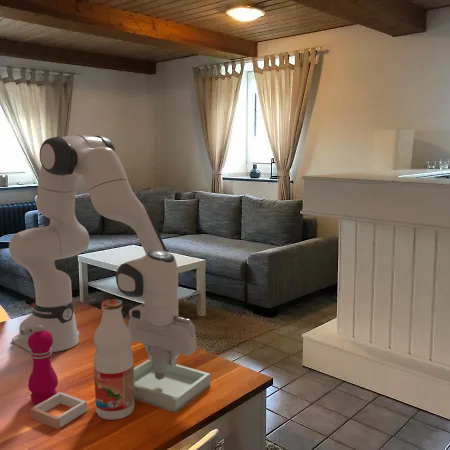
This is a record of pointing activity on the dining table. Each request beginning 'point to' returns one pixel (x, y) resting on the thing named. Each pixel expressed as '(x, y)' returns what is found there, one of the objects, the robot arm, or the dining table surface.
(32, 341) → the pepper mill
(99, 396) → the white plastic bottle
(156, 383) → the tray
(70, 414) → the socket collar
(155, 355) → the lightbulb
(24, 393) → the dining table surface
